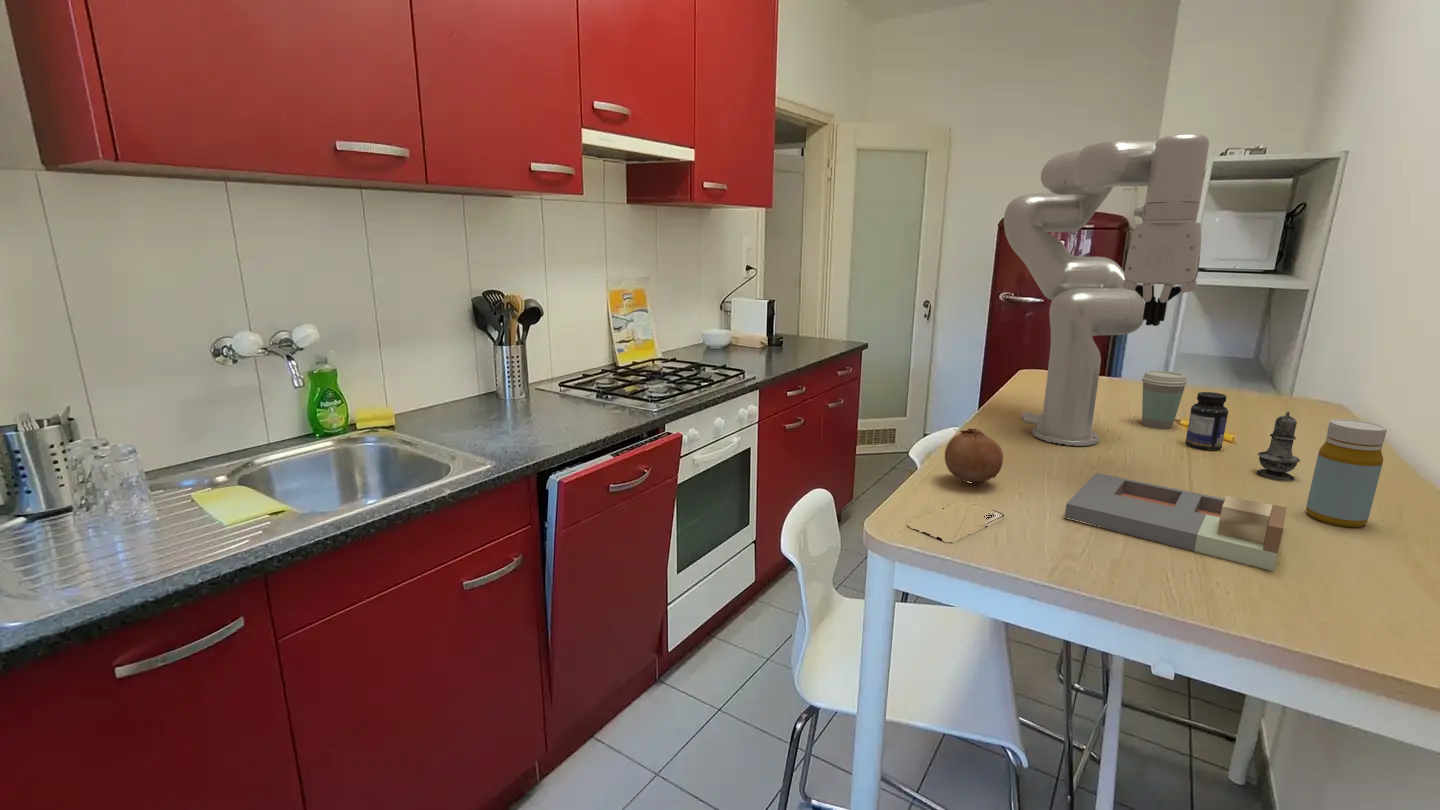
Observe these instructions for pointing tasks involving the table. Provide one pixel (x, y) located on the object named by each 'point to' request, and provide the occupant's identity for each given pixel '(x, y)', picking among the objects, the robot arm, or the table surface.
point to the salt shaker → (1280, 451)
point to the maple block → (1244, 519)
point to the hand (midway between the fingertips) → (1152, 324)
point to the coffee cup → (1161, 398)
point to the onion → (973, 456)
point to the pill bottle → (1207, 422)
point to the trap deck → (1171, 518)
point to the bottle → (1347, 473)
